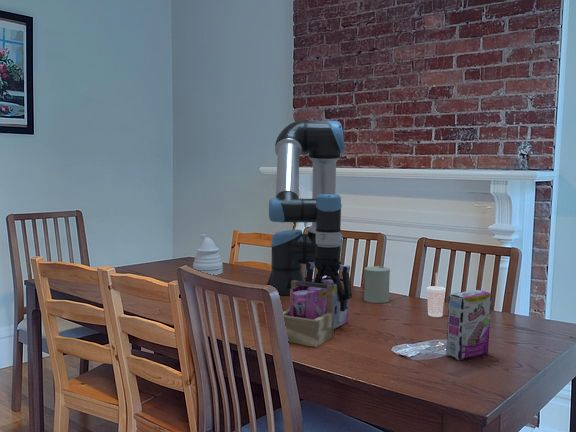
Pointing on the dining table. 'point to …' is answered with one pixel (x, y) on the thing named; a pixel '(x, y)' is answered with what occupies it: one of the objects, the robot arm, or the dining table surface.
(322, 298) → the gum box
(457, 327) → the candy bar box
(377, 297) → the can
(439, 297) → the beverage cup
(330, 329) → the dispenser
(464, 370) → the dining table surface
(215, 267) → the honey pot
